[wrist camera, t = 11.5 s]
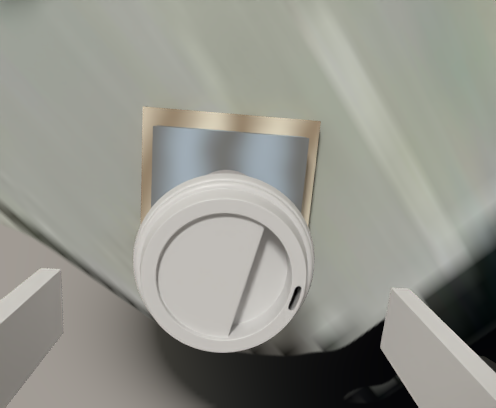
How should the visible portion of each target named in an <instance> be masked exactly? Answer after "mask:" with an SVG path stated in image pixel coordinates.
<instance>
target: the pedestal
mask: <svg viewBox="0 0 496 408" xmlns="http://www.w3.org/2000/svg"><path fill="white" fill-rule="evenodd" d="M320 123H321V121H311V120H299V119H287V118H275V117H263V116H250V115H238V114H226V113H214V112H202V111H190V110H177V109H165V108H153V107H143V126H142V183H141V224H142V222H143V220H144V218H145V216H146V215H147V213H148V212H149V210H150V209H151V208H152V206H153V205H154V204H155V203H156V202H157V201H158V200H159V199H160V198H161V197H162V196H163V195H165V194H166V193H167V192H168V191H170V190H171V189H173V188H174V187H176V186H178V185H179V184H181V183H183V182H186V181H188V180H191V179H193V178H196V177H200V176H204V175H208V174H210V173H212V172H215V171H219V170H233V171H238V172H240V173H243V174H245V175H246V176H249V177H252V178H255V179H258V180H261V181H263V182H265V183H267V184H269V185H271V186H273V187H274V188H276V189H277V190H279V191H280V192H281V193H283V194H284V195H285V196H286V197H287V198H288V199H290V200H291V202H292V203H293V204H294V205H295V206H296V207H297V209H298V210H299V211H300V213H301V214H302V216H303V218H304V219H305V221H306V223H307V225H308V224H309V215H310V207H311V199H312V190H313V182H314V173H315V165H316V157H317V148H318V140H319V131H320Z"/></svg>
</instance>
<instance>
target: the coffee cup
mask: <svg viewBox="0 0 496 408" xmlns="http://www.w3.org/2000/svg"><path fill="white" fill-rule="evenodd" d="M133 266H134V276H135V281H136V285H137V288H138V291H139V293H140V296H141V298H142V300H143V302H144V304H145V306H146V307H147V309H148V310H149V312H150V313H151V315H152V316H153V317H154V319H155V320H156V321H157V322H158V324H159V325H160V326H161V327H162V328H163V329H164V330H165V331H166V332H167V333H169V334H170V335H171V336H173V337H174V338H175V339H177V340H179V341H180V342H182V343H184V344H186V345H189V346H191V347H194V348H196V349H200V350H204V351H209V352H219V353H226V352H237V351H242V350H246V349H250V348H253V347H255V346H258V345H260V344H262V343H264V342H266V341H268V340H269V339H271V338H272V337H274V336H275V335H276V334H278V333H279V332H280V331H281V330H282V329H283V328H284V327H285V326H286V325H287V324H288V323H289V322H290V321H291V319H292V318H293V317H294V316H295V314H296V313H297V312H298V310H299V309H300V307H301V305H302V304H303V302H304V300H305V298H306V296H307V294H308V291H309V289H310V286H311V282H312V278H313V272H314V246H313V241H312V237H311V233H310V230H309V228H308V225H307V223H306V221H305V219H304V218H303V216H302V214H301V213H300V211H299V210H298V209H297V207H296V206H295V205H294V204H293V203H292V202H291V200H290V199H288V198H287V197H286V196H285V195H284V194H283V193H281V192H280V191H279V190H277V189H276V188H274V187H273V186H271V185H269V184H267V183H265V182H263V181H261V180H258V179H255V178H252V177H249V176H246V175H245V174H243V173H240V172H238V171H233V170H219V171H215V172H212V173H210V174H208V175H204V176H200V177H196V178H193V179H191V180H188V181H186V182H183V183H181V184H179V185H178V186H176V187H174V188H173V189H171V190H170V191H168V192H167V193H166V194H165V195H163V196H162V197H161V198H160V199H159V200H158V201H157V202H156V203H155V204H154V205H153V206H152V208H151V209H150V210H149V212H148V213H147V215H146V216H145V218H144V220H143V222H142V224H141V226H140V228H139V230H138V233H137V237H136V240H135V245H134V253H133Z"/></svg>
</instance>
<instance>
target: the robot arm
mask: <svg viewBox="0 0 496 408" xmlns="http://www.w3.org/2000/svg"><path fill="white" fill-rule="evenodd" d="M62 334H63V308H62V279H61V269H47V268H40V269H39V270H38V271H37V272H35V273H34V274H33V275H32V276H30V277H29V278H28V279H27V280H25V281H24V282H23V283H22V284H20V285H19V286H18V287H17V288H15V289H14V290H13V291H12V292H10V293H9V294H8V295H7V296H5V297H4V298H3V299H1V300H0V408H6V406H7V405H8V404H9V402H10V401H11V400H12V399H13V397H14V396H15V395H16V393H17V392H18V391H19V389H20V388H21V387H22V386H23V384H24V383H25V381H26V380H27V379H28V378H29V377H30V375H31V374H32V373H33V371H34V370H35V369H36V367H37V366H38V365H39V364H40V362H41V361H42V360H43V358H44V357H45V356H46V355H47V353H48V352H49V351H50V350H51V348H52V347H53V346H54V344H55V343H56V342H57V340H58V339H59V338H60V337H61V335H62ZM380 348H381V349H382V351H383V352H384V354H385V356H386V357H387V359H388V360H389V362H390V363H391V365H392V367H393V368H394V370H395V371H396V373H397V374H398V376H399V377H400V379H401V381H402V382H403V384H404V385H405V387H406V388H407V390H408V391H409V393H410V394H411V396H412V398H413V399H414V401H415V402H416V404H417V406H418V407H419V408H496V363H494V362H492V361H491V360H489V359H488V358H486V357H484V356H478V355H477V354H476V353H475V352H473V350H472V349H470V347H469V346H468V345H467V344H465V343H464V342H463V341H462V340H461V339H460V338H459V337H458V336H457V335H456V334H455V333H454V332H453V331H452V330H451V329H450V328H449V327H448V326H447V325H446V324H445V323H444V322H443V321H442V320H441V319H440V318H439V317H438V316H437V315H436V314H435V313H434V312H433V311H432V310H431V309H430V308H429V307H427V306H426V305H425V304H424V303H423V302H422V301H421V300H420V299H419V298H418V297H417V296H416V295H415V294H414V293H413V292H412V291H411V290H410V289H405V288H391V291H390V296H389V302H388V307H387V313H386V318H385V324H384V330H383V335H382V341H381V347H380Z"/></svg>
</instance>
